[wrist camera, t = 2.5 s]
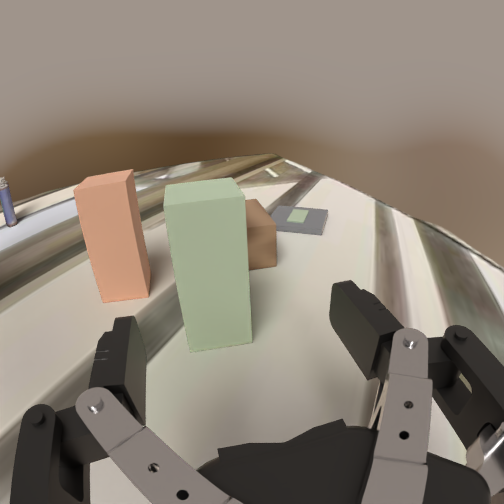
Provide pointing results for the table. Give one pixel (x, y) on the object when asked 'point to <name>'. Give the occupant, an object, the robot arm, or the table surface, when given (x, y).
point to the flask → (7, 203)
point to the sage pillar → (210, 261)
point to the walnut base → (260, 236)
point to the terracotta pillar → (114, 235)
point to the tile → (300, 219)
